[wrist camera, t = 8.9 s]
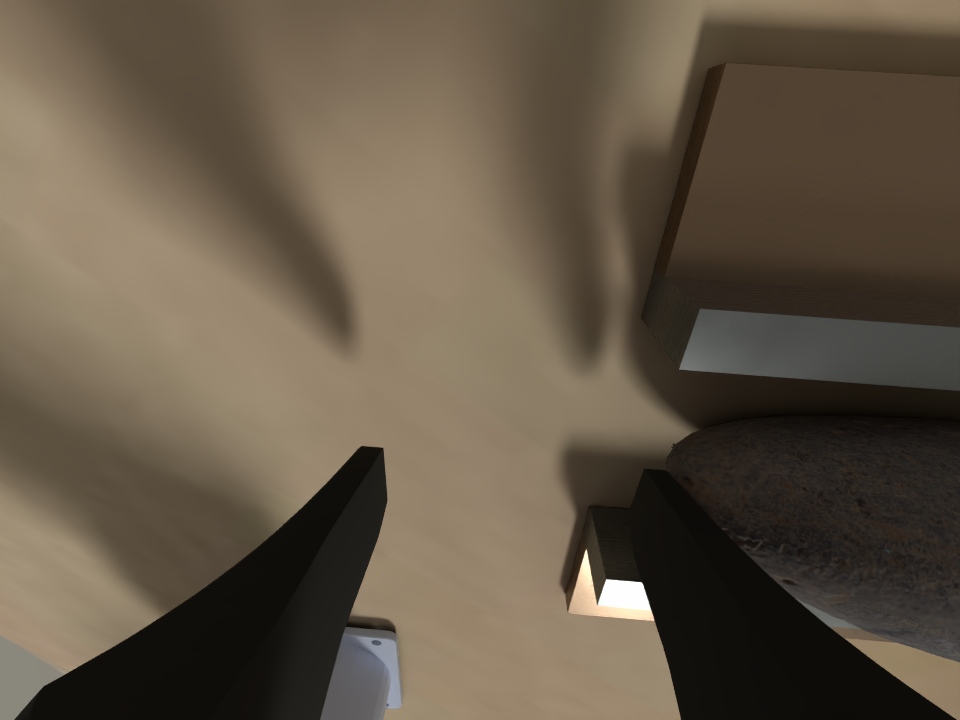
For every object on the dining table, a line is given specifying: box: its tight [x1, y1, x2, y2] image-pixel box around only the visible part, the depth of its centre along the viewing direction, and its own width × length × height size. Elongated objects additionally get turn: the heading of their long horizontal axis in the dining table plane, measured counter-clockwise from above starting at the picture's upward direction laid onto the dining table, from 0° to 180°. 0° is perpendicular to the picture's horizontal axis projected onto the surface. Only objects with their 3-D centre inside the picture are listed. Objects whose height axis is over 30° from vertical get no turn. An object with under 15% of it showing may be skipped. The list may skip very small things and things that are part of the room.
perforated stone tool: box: [666, 416, 960, 662], centre depth 11 cm, size 15×5×7 cm, turn 82°
